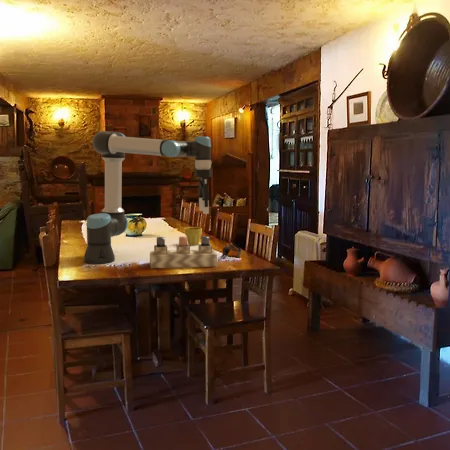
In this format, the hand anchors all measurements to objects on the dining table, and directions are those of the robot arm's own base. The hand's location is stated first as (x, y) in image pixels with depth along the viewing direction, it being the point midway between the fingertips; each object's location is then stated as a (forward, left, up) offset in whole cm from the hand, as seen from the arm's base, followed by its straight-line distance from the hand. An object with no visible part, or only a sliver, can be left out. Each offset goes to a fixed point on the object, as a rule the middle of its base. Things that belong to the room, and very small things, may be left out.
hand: (203, 212), depth 245 cm
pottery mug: (+7, +22, -26) cm, 35 cm away
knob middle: (-9, -5, -17) cm, 19 cm away
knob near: (-18, -11, -17) cm, 27 cm away
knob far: (+1, 0, -17) cm, 17 cm away
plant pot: (-25, +47, -26) cm, 59 cm away
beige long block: (-9, -5, -26) cm, 28 cm away
